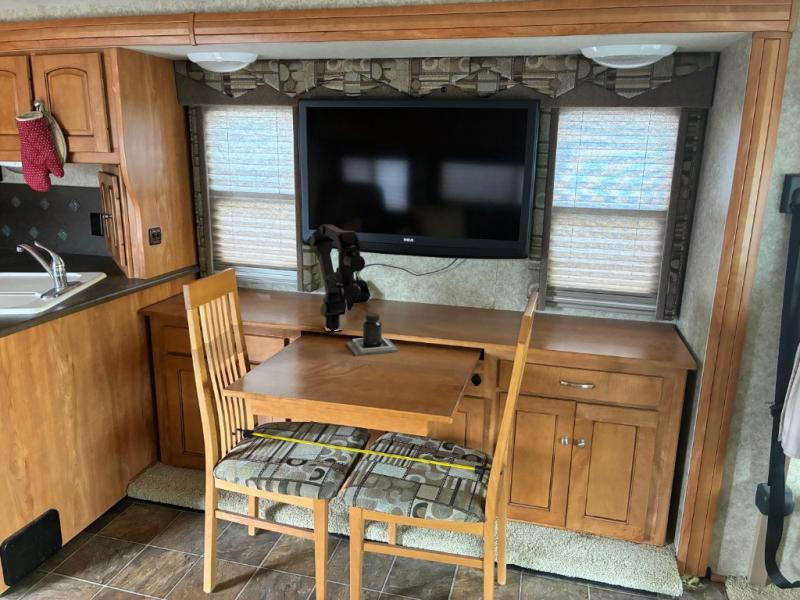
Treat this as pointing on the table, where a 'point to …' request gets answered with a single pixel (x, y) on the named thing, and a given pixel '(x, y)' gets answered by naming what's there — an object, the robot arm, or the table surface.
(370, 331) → the supplement bottle
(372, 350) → the coaster tray
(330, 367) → the table surface
